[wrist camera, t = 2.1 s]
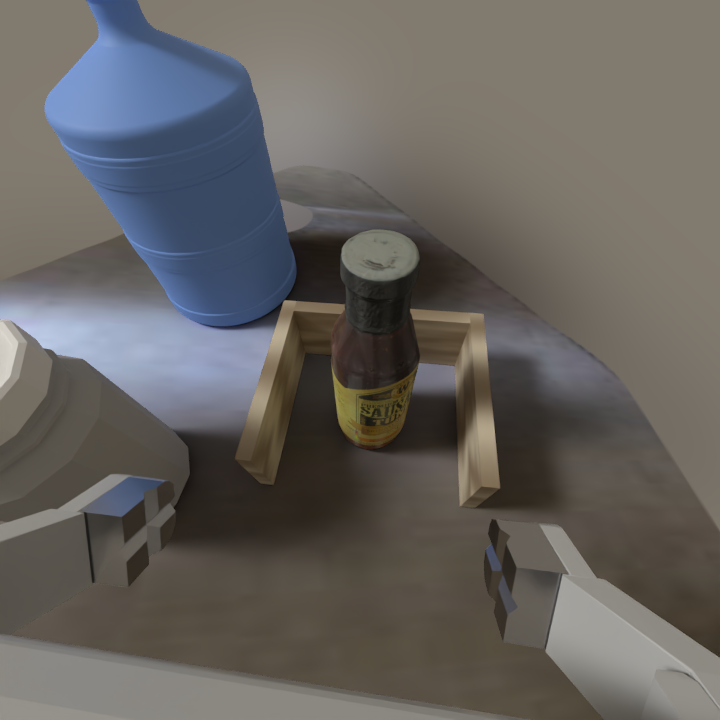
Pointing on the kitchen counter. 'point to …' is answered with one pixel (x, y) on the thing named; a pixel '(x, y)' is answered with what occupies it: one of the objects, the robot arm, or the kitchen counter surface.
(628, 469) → the kitchen counter surface
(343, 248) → the sauce bottle
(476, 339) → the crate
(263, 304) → the water jug
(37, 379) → the jar
